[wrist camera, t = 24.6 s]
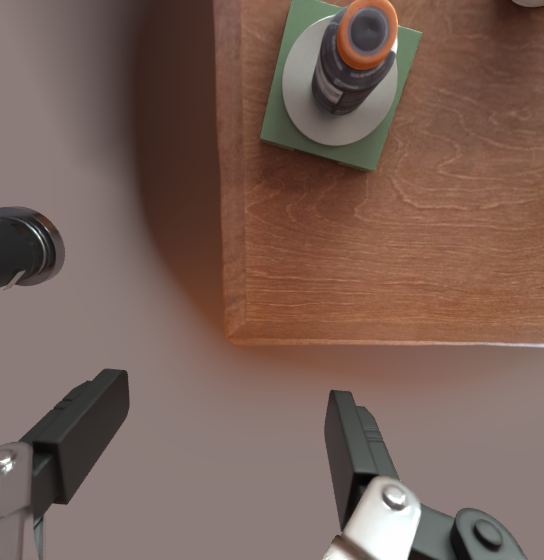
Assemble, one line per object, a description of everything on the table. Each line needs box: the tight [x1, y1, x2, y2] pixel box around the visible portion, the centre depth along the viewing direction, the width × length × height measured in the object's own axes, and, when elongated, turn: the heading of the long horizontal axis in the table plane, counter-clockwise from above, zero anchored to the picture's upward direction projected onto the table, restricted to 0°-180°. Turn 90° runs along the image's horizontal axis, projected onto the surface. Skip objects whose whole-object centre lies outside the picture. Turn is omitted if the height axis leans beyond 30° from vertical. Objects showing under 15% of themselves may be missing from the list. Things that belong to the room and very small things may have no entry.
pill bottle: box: [312, 0, 398, 116], centre depth 26 cm, size 6×6×11 cm
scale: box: [259, 0, 422, 172], centre depth 33 cm, size 14×14×4 cm
